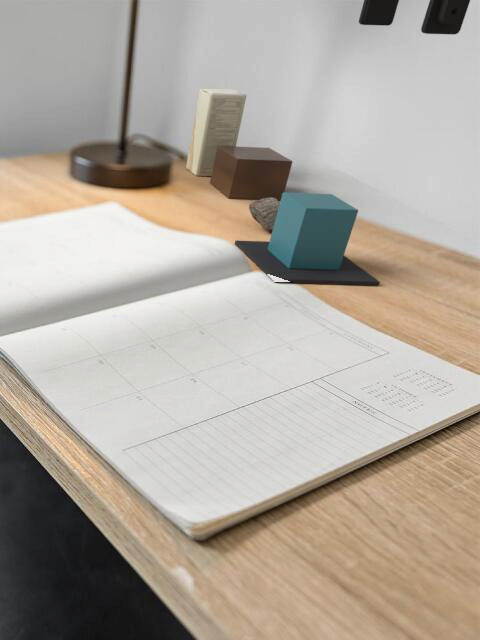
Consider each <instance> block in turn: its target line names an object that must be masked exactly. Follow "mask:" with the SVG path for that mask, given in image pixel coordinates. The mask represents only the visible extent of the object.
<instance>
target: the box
mask: <svg viewBox="0 0 480 640" xmlns="http://www.w3.org/2000/svg"><path fill="white" fill-rule="evenodd" d="M247 95H248V94H246V93H244V92H242V91H239V90H237V89H234V88H200V89H199V94H198V98H197V105H196V110H195V115H194V120H193V121H194V122H193V127H192V133H191V137H190V138H191V139H190V144H189V149H188V155H187V161H186V167H185V168H186V169H187V170H188V171H189V172H190V173H192V174H193V175H194V176H196V177H211V175H212V170H213V166H214V161H215V156H216V152H217V147H218V146H236V147H237V144H238V138H239V135H240V134H239V133H240V128H241V124H242V119H243V114H244V110H245V104H246V99H247Z"/></svg>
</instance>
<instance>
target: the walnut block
mask: <svg viewBox="0 0 480 640" xmlns="http://www.w3.org/2000/svg"><path fill="white" fill-rule="evenodd" d="M292 167H293V160H291V159H289V158H288V157H286V156H285V155H283V154H281V153H279V152H277V151H275V150H274V149H272V148H270V147H257V146H237V145H236V146H218V147H217V152H216V156H215V161H214V166H213V170H212V175H211V176H210V178H209V179H210V180H209V184H210V185H212V186H213V187H214V188H215V189H216V190H218V191H219V192H220V193H221V194H222V195H223V196H225V197H226V198H227V199H235V200H256V201H257V200H260V199H263V198H269V197H272V198H275V199H277V200H278V201H281V197H282V194H283V192H286V187H287V184H288V180H289V177H290V173H291V170H292Z"/></svg>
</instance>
